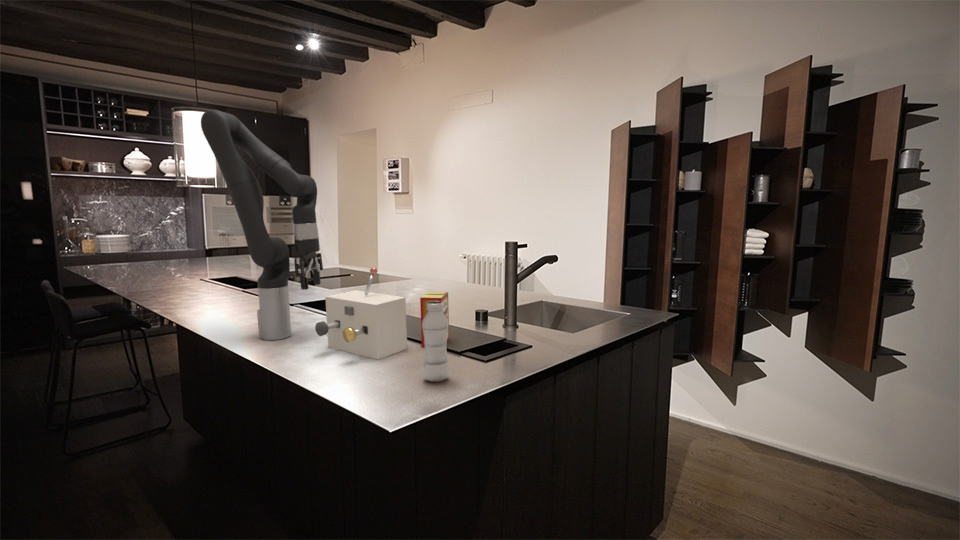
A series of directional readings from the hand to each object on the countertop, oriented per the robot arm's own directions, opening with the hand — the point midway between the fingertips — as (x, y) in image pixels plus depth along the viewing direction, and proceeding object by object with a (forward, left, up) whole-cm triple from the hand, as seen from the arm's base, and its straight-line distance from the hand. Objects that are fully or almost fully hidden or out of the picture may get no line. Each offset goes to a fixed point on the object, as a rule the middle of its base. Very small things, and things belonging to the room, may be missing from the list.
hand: (311, 286), depth 158 cm
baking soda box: (+42, -2, -17) cm, 45 cm away
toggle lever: (+22, -9, -1) cm, 24 cm away
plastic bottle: (+49, -33, -17) cm, 61 cm away
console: (+22, -9, -17) cm, 29 cm away
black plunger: (+12, -14, -11) cm, 22 cm away
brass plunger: (+23, -20, -11) cm, 32 cm away
